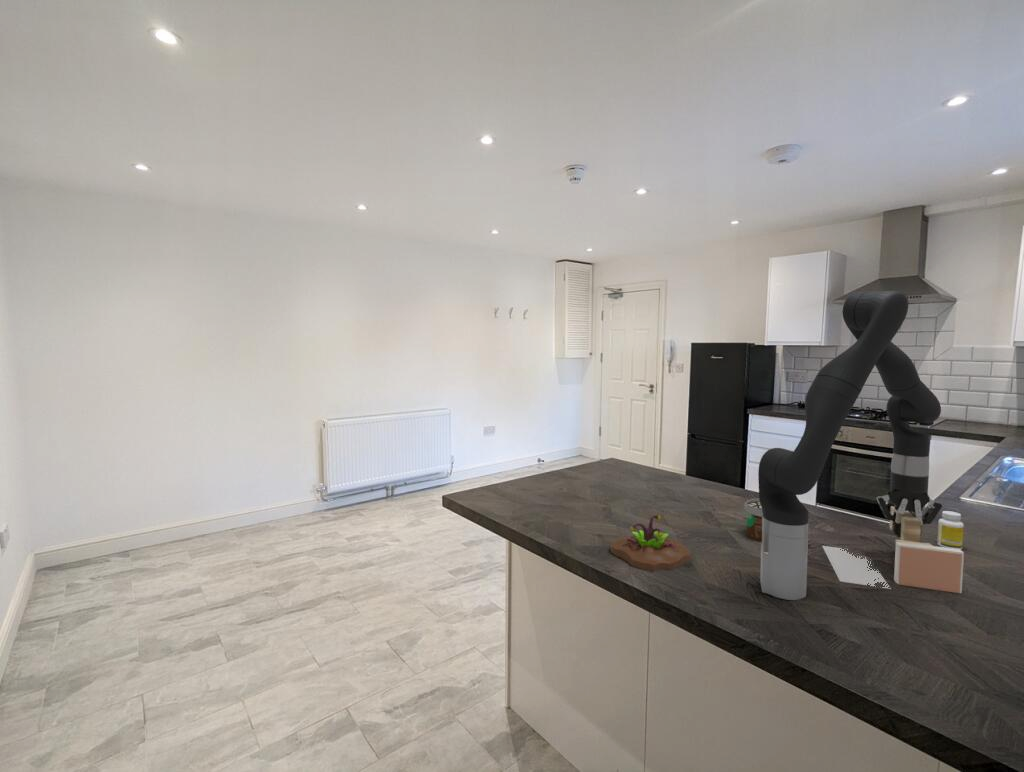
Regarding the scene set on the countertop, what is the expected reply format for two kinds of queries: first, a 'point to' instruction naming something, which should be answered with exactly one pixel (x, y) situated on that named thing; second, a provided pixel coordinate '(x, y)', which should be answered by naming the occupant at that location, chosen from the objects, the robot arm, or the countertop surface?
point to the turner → (909, 529)
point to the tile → (929, 567)
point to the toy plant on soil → (651, 549)
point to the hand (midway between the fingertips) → (906, 536)
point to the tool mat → (852, 568)
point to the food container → (754, 518)
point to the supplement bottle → (950, 530)
